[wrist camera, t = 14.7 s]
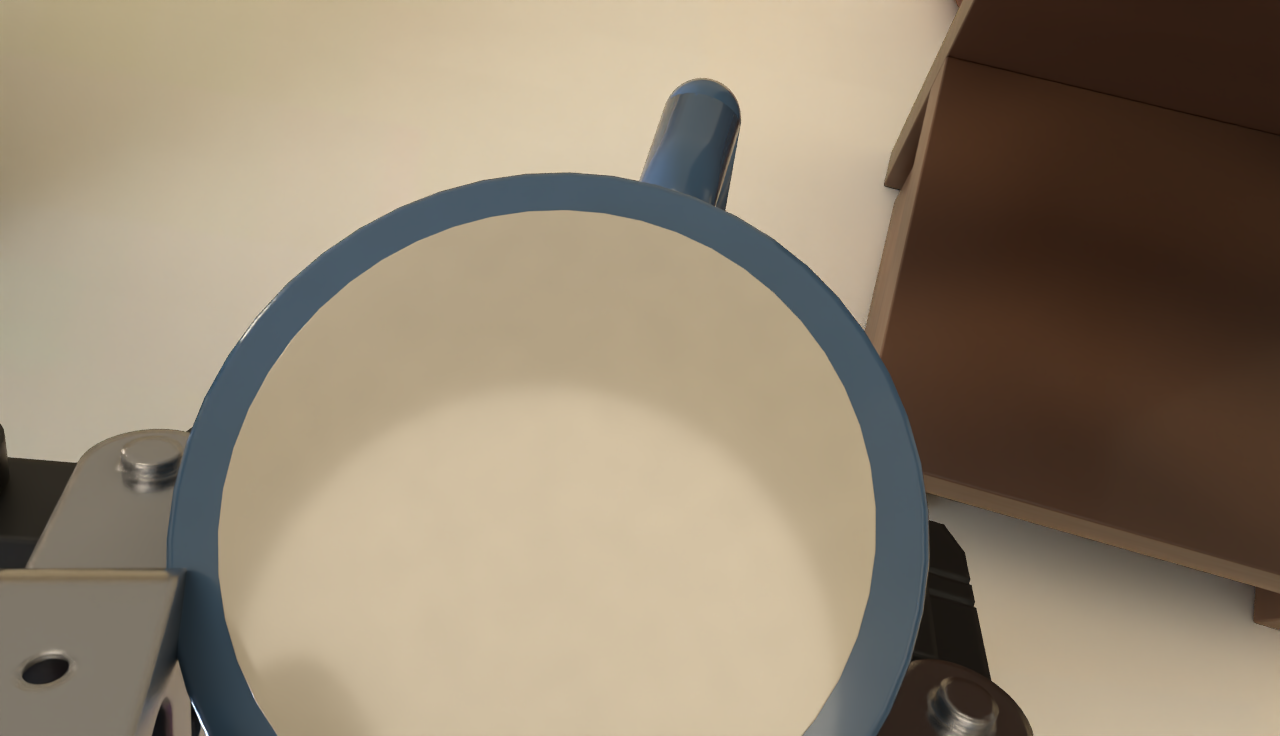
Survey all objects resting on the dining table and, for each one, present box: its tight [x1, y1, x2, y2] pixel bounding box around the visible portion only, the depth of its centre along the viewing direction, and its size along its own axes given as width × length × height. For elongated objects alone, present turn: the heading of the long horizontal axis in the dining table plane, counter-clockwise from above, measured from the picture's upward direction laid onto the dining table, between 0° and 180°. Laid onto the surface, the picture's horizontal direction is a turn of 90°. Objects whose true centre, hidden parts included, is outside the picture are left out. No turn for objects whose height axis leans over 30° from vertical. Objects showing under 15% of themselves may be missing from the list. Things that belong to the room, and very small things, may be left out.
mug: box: [166, 78, 929, 736], centre depth 12 cm, size 8×6×9 cm
